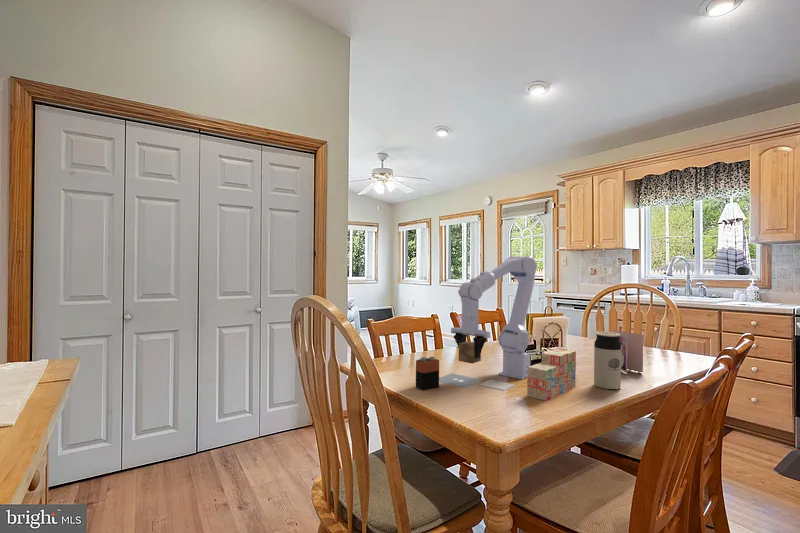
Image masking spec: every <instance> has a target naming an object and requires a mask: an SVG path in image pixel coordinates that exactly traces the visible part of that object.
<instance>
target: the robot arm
mask: <svg viewBox="0 0 800 533" xmlns="http://www.w3.org/2000/svg"><path fill="white" fill-rule="evenodd" d="M537 268H538V264H537V263H536V260H535V258H534V257H532V256H531V255H527V256H513V255H512V256H509V257H508V258H505V259H504V261H503V262H502V263H500V264H499V265H498V266H496V267H495V268H493V269H492V270H491V271H490V272H489V271H481V272H480V273H479V275H478V276H476V277H474V278H471V279H470V280H469V282H468V281H467V282H466V281H465V282H463V283H462V284H461V285H460V287H459V289H458V295H459V297H460V301H461V327H456V326H455V327H453V326H452V327H450V332H451V334H454V335H453V339H454V340H455V343H456V346H457V348H458V349H459V343H463V342H467V336H470V337H473V338H472V339H473V342H474V345H475V358H480V355H481V356H482V350H483V347H484V346H485V343H486V341H487V340H488V339H491V331H488V330H487V331H486V330H482V329H479V312H480V311H479V304H480V303H479V299H481V298H482V296H483V294H484V292H486V291H488V290H489V289H491V288H492V287H494V285H495V284H496V281H497V280H498V279H500V278H502V277H503V276H505V275H507V274H508V273H509V274H511V276H512V277H513V278H514V280H516V281H517V282H518V284H517V289H516V292H515V296H514V300H513V303H512V304H513V305H512V310H511V313H510V317H509V320H508V321H509V322H508V323H507V324H505V325H504V326H503V328H502V331H501V333H499V336H498V344H499V346H500V347H501V350H502V371H500V372H498V375H500V376H504V377H509V378H514V379H519V380H523V379H526V378H528V367H529V366H531V355H530V353H528V352H525V351H526V349H527V348H528V345H529V332H528V330H527V329H526V328H525V325H526V318H527V315H528V311H529V307H530V302H531V298H532V294H533V290H534V285H535V275H536V271H537Z"/></svg>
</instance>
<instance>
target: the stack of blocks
mask: <svg viewBox="0 0 800 533" xmlns="http://www.w3.org/2000/svg"><path fill="white" fill-rule="evenodd" d="M576 355H577V351H576V350H571V349H566V348H565V349H563V348H554V349H550V350H547V351H544V352H542V353H541V362H539V363H535V364H533V365H530V366H529V367H528V377H526V378H527V386H526V387H527V388H526V390H527V394H526V396H527V397H530V398H534V399H538V400H541V401H548V400H550V399H553V398H555V397H557V396H559V395H561V394H564V393H565V392H567V390H568V391H570V390H571V388H572V389H574V388H576V383H577V382H576V380H577V378H576V371H577V370H576V369H577V368H576V367H577V361H576V358H577V356H576ZM573 387H574V388H573ZM569 389H570V390H569ZM564 391H565V392H564Z"/></svg>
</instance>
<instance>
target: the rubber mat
mask: <svg viewBox="0 0 800 533" xmlns="http://www.w3.org/2000/svg"><path fill="white" fill-rule="evenodd" d="M479 386H481V387H486V388H491V389H495V390H498V391H499V390H500V391H503V392H504V391H507V390H509V389H511V388H513V387H515V386H516V384H514V383H510V382H504V381H499V380H495V379H489V380H487V381H484V382H482V383H480V384H479Z"/></svg>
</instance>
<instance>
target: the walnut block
mask: <svg viewBox="0 0 800 533" xmlns="http://www.w3.org/2000/svg"><path fill="white" fill-rule="evenodd" d="M481 358H482V354H481V355H480V358H475V345H474V341H467V340H466V342H463V343H459V348H458V362H462V363H468V364H472V365H473V364H476V363H479V362H481V360H482V359H481Z"/></svg>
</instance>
